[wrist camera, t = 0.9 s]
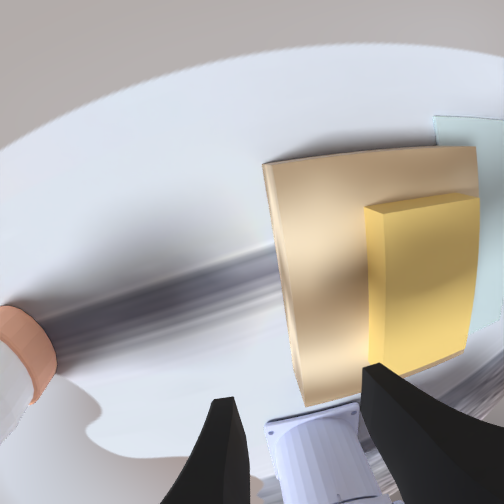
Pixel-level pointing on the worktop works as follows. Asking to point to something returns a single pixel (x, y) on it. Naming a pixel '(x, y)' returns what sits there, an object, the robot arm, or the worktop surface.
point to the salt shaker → (22, 366)
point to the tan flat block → (344, 249)
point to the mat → (483, 208)
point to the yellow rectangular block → (421, 278)
